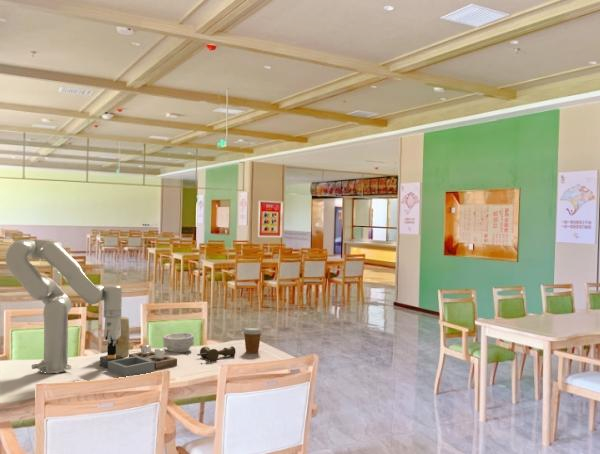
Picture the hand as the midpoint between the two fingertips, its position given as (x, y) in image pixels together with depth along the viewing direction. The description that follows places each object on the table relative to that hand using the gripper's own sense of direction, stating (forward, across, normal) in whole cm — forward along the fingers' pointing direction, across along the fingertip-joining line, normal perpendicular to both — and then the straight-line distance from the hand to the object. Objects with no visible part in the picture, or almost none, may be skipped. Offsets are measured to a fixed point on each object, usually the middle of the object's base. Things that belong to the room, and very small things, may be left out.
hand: (111, 354), depth 243 cm
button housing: (+6, 0, 0) cm, 6 cm away
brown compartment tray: (+6, +6, -17) cm, 19 cm away
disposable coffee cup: (+6, +33, -62) cm, 70 cm away
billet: (+5, +2, -21) cm, 21 cm away
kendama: (+7, +20, -44) cm, 49 cm away
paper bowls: (+6, +34, -24) cm, 42 cm away
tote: (+6, -8, -10) cm, 14 cm away
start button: (+4, 0, 0) cm, 4 cm away
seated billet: (+5, +10, -13) cm, 17 cm away
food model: (+6, +17, +2) cm, 18 cm away
